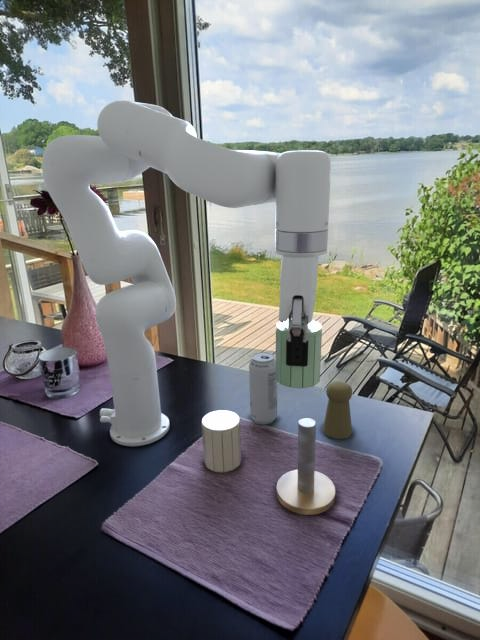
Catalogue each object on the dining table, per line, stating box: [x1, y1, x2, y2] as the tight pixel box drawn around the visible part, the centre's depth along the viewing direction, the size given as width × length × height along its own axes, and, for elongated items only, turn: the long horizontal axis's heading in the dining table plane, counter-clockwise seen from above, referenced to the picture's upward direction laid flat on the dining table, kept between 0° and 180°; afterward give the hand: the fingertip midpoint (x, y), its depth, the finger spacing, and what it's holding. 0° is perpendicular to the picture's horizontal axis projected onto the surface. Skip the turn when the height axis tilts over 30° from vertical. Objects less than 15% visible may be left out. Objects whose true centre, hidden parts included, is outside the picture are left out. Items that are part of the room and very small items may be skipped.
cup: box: [201, 409, 242, 473], centre depth 83 cm, size 7×7×9 cm
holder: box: [275, 417, 337, 516], centre depth 73 cm, size 10×10×14 cm
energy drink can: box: [248, 351, 278, 425], centre depth 96 cm, size 6×6×15 cm
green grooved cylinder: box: [275, 318, 323, 389], centre depth 69 cm, size 7×7×9 cm
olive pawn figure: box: [322, 380, 353, 440], centre depth 91 cm, size 6×6×11 cm
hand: (298, 354), depth 69 cm, fingers closed on green grooved cylinder, 7 cm apart
